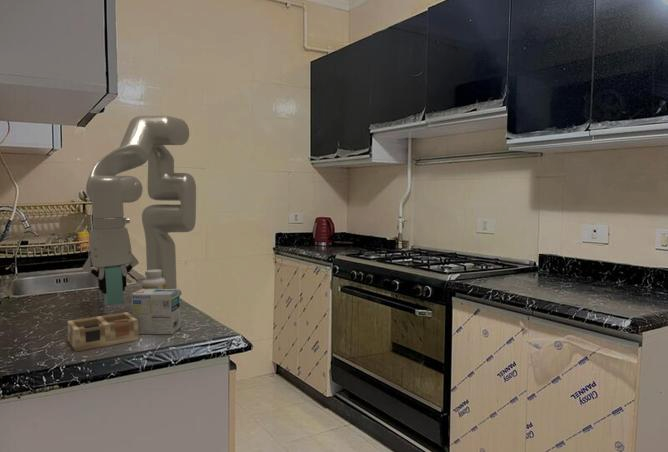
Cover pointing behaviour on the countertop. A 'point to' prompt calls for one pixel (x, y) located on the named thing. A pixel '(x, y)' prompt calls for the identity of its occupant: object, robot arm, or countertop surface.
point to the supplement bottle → (154, 280)
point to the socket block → (102, 331)
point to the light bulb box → (157, 310)
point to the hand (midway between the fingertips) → (113, 290)
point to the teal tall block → (113, 285)
